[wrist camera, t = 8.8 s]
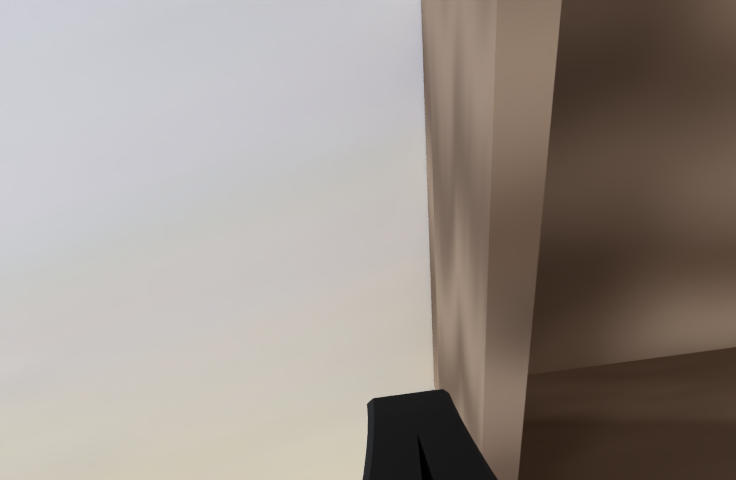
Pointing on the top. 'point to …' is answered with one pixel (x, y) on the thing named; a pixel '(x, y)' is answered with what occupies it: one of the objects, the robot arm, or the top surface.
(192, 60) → the top surface
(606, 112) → the cart bed
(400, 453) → the robot arm
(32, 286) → the top surface
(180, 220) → the top surface
